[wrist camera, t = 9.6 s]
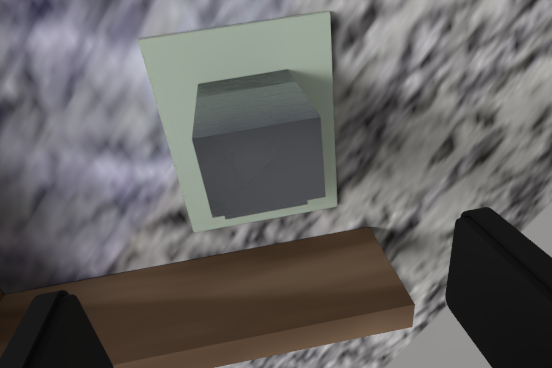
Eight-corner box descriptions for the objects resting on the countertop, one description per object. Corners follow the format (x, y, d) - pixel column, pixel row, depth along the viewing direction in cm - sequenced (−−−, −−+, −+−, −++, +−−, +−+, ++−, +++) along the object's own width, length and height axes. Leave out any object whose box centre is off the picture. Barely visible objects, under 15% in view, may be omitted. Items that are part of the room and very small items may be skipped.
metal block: (287, 68, 17) (320, 116, 12) (299, 183, 20) (329, 260, 15) (197, 83, 17) (191, 139, 11) (224, 197, 20) (228, 280, 15)
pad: (335, 202, 21) (337, 206, 21) (194, 228, 21) (193, 232, 21) (327, 10, 16) (329, 12, 16) (139, 38, 16) (137, 40, 15)
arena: (368, 247, 24) (412, 326, 18) (-11, 319, 22) (-78, 427, 17) (377, -259, 12) (494, -415, 7) (-394, -182, 11) (-935, -308, 6)
